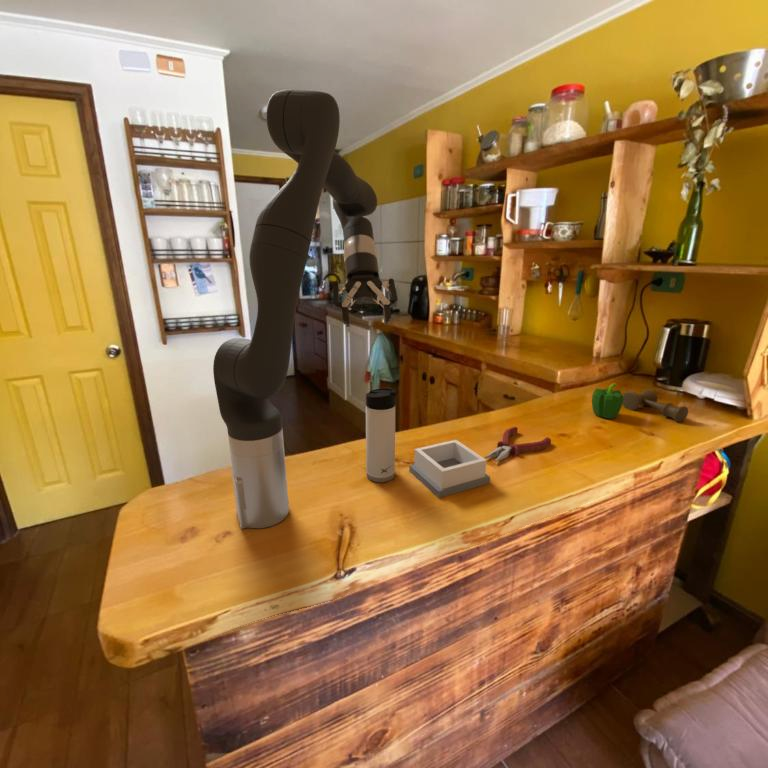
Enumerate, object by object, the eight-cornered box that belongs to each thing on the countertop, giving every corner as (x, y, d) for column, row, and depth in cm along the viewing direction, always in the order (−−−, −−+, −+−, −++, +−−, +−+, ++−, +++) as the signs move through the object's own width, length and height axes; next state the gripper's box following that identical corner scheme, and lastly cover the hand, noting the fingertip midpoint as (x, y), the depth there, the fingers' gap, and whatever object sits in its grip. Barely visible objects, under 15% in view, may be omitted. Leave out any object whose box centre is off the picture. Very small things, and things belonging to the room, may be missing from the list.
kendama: (670, 427, 119) (609, 402, 136) (691, 422, 123) (630, 399, 140) (675, 407, 117) (613, 385, 134) (697, 403, 121) (634, 382, 138)
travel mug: (391, 485, 88) (391, 396, 82) (362, 480, 90) (360, 392, 84) (399, 471, 94) (400, 387, 87) (372, 466, 96) (371, 383, 90)
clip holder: (438, 498, 83) (439, 473, 82) (409, 471, 94) (409, 449, 92) (489, 483, 89) (491, 460, 87) (456, 459, 99) (458, 438, 97)
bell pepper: (602, 422, 121) (608, 389, 117) (584, 412, 128) (589, 381, 125) (627, 420, 122) (633, 387, 119) (608, 410, 130) (613, 379, 127)
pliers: (469, 456, 102) (469, 446, 101) (512, 432, 115) (513, 424, 114) (511, 473, 94) (512, 463, 93) (552, 446, 107) (553, 437, 106)
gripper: (329, 252, 91) (334, 318, 86) (393, 249, 93) (401, 314, 88) (330, 271, 98) (335, 333, 94) (390, 268, 100) (397, 329, 95)
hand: (367, 324), depth 91 cm, fingers open, 8 cm apart
